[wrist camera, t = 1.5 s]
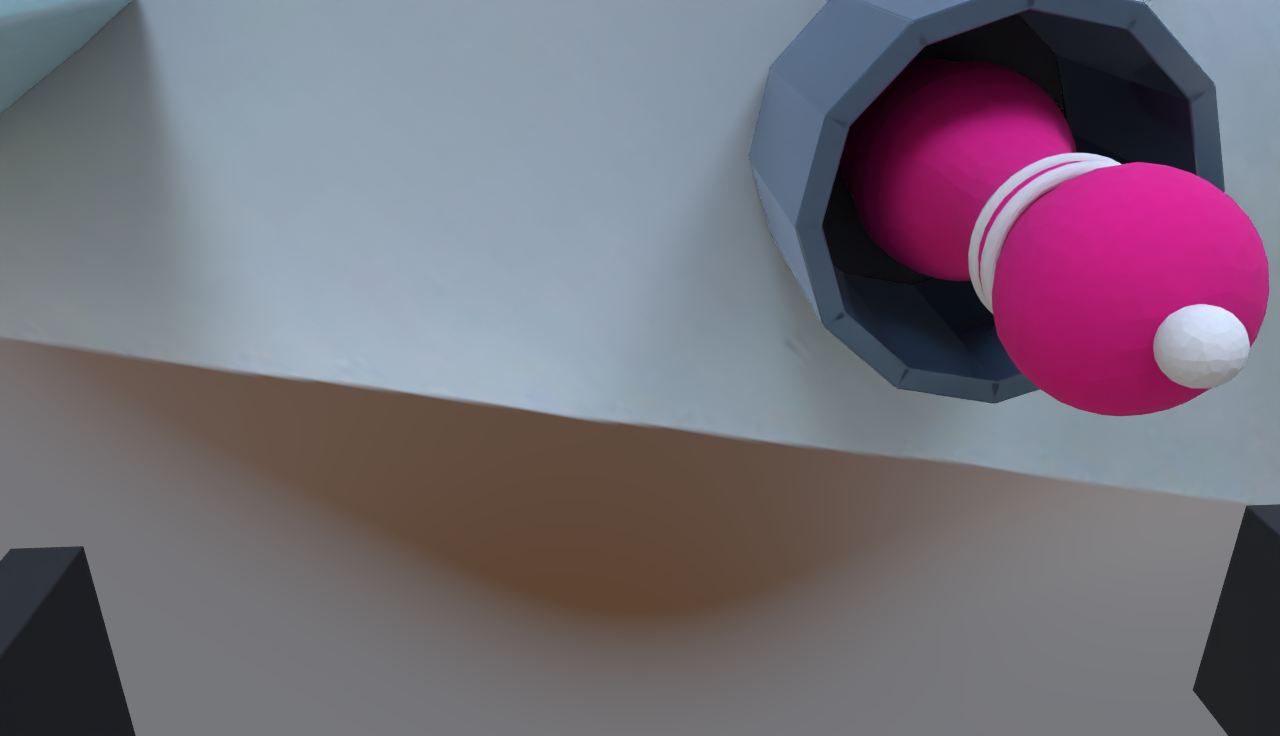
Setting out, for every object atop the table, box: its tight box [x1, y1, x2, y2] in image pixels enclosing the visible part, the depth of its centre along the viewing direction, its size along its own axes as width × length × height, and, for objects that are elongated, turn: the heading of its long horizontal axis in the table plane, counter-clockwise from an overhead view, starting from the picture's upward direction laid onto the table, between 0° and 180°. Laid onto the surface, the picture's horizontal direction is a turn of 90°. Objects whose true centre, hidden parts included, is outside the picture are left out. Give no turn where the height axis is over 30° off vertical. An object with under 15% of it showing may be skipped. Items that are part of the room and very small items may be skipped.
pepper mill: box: [840, 59, 1269, 416], centre depth 30 cm, size 7×7×20 cm
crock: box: [749, 0, 1225, 403], centre depth 35 cm, size 13×13×9 cm
